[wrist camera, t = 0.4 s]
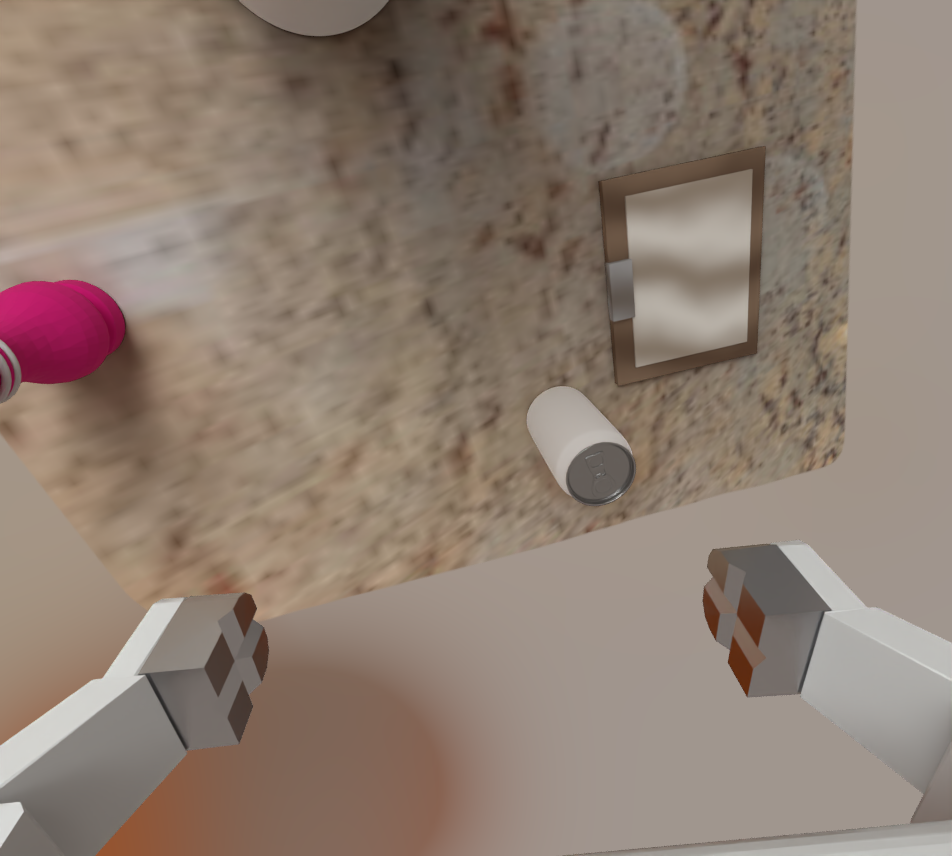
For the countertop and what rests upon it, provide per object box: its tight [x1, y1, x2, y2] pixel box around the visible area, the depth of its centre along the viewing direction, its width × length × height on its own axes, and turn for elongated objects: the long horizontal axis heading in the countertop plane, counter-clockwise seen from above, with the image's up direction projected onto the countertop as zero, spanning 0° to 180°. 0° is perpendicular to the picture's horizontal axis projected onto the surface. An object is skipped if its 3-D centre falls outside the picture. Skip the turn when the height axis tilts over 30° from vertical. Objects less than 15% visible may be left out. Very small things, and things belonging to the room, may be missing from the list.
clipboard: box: [599, 146, 766, 386], centre depth 47 cm, size 18×14×2 cm
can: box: [527, 386, 636, 506], centre depth 46 cm, size 6×6×12 cm
